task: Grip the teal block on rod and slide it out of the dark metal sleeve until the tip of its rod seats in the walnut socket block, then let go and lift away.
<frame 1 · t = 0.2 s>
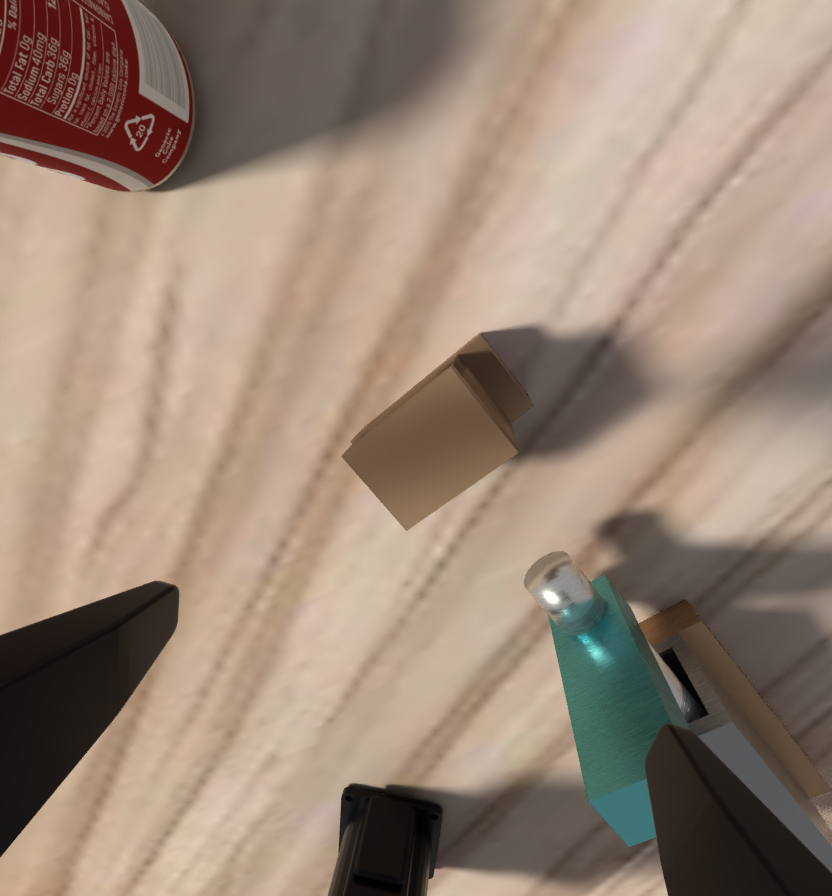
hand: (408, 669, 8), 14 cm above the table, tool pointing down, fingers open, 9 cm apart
sleeve: (715, 768, 21), on the table
soda can: (134, 108, 19), on the table
teal block on rod: (700, 784, 17), point 7 cm above the table, slide at 0.0 cm
socket: (436, 429, 18), on the table
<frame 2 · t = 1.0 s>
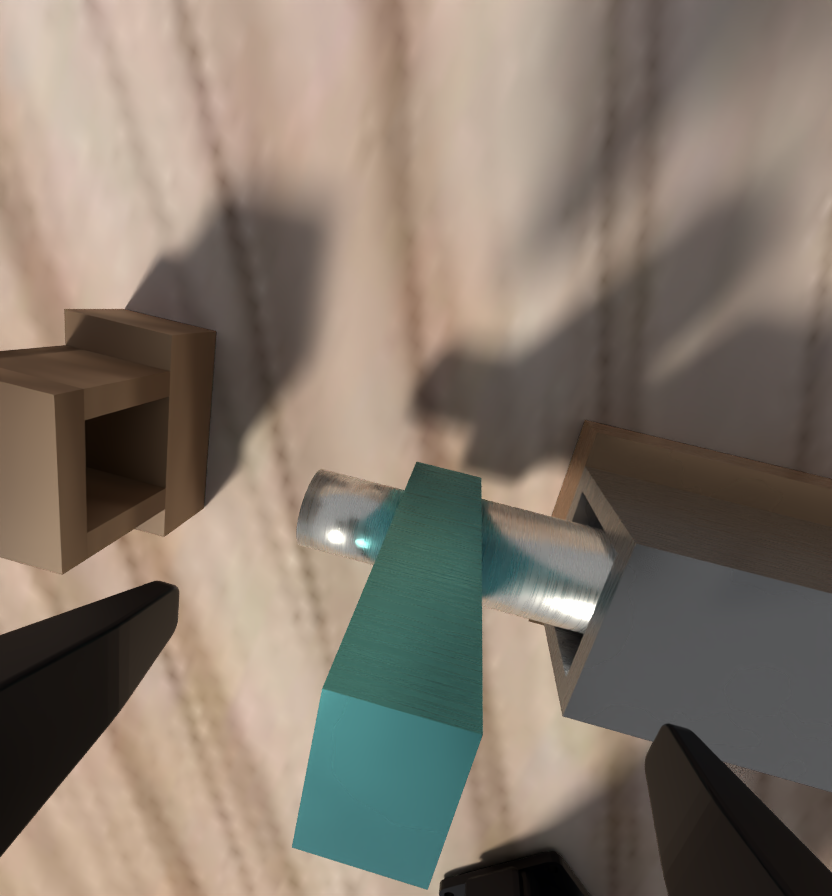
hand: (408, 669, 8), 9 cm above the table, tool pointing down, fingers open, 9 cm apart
sleeve: (781, 615, 13), on the table
teal block on rod: (681, 668, 10), point 7 cm above the table, slide at 0.0 cm
socket: (97, 437, 14), on the table
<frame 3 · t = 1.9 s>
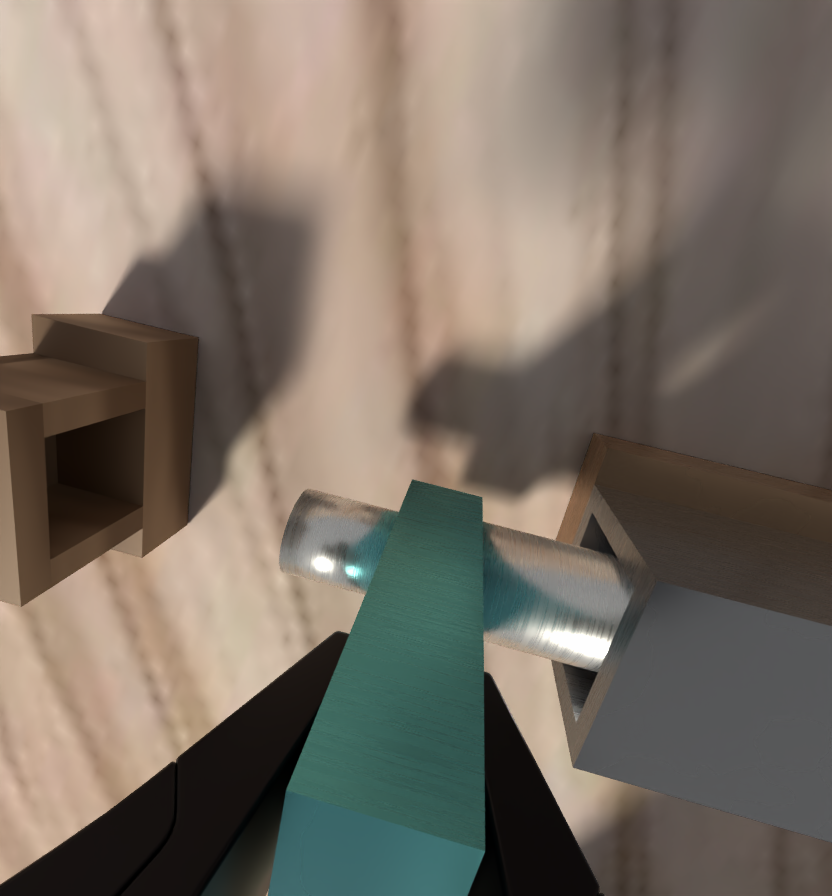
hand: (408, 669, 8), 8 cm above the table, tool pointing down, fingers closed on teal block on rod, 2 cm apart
sleeve: (810, 649, 12), on the table
teal block on rod: (708, 719, 9), point 7 cm above the table, slide at 0.0 cm, touching gripper
socket: (67, 452, 13), on the table
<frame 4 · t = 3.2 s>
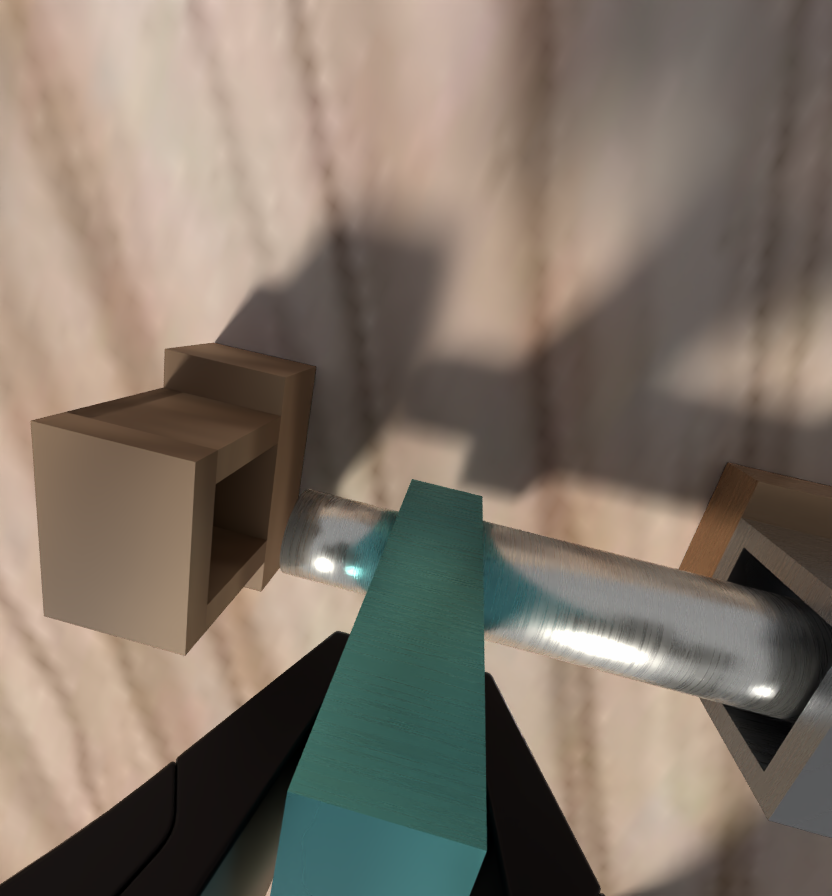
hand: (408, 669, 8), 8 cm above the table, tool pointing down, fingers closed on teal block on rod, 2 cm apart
teal block on rod: (709, 717, 9), point 7 cm above the table, slide at 4.1 cm, touching gripper
socket: (200, 489, 13), on the table
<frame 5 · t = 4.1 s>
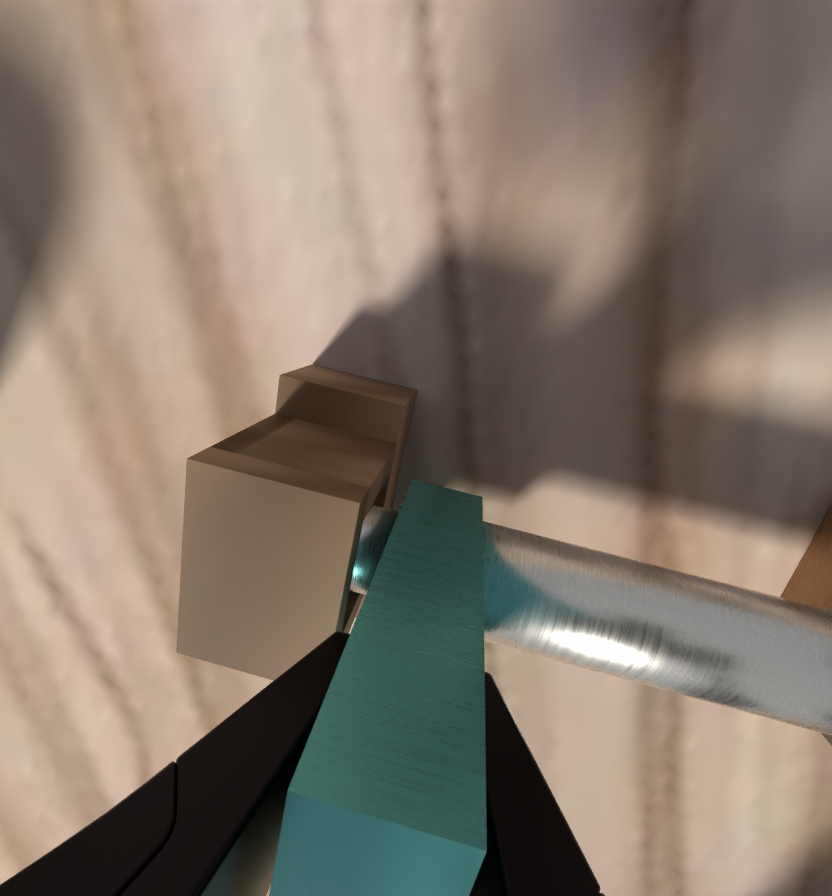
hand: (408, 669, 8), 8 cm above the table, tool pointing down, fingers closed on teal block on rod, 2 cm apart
teal block on rod: (708, 718, 9), point 7 cm above the table, slide at 7.4 cm, touching gripper
socket: (313, 517, 12), on the table
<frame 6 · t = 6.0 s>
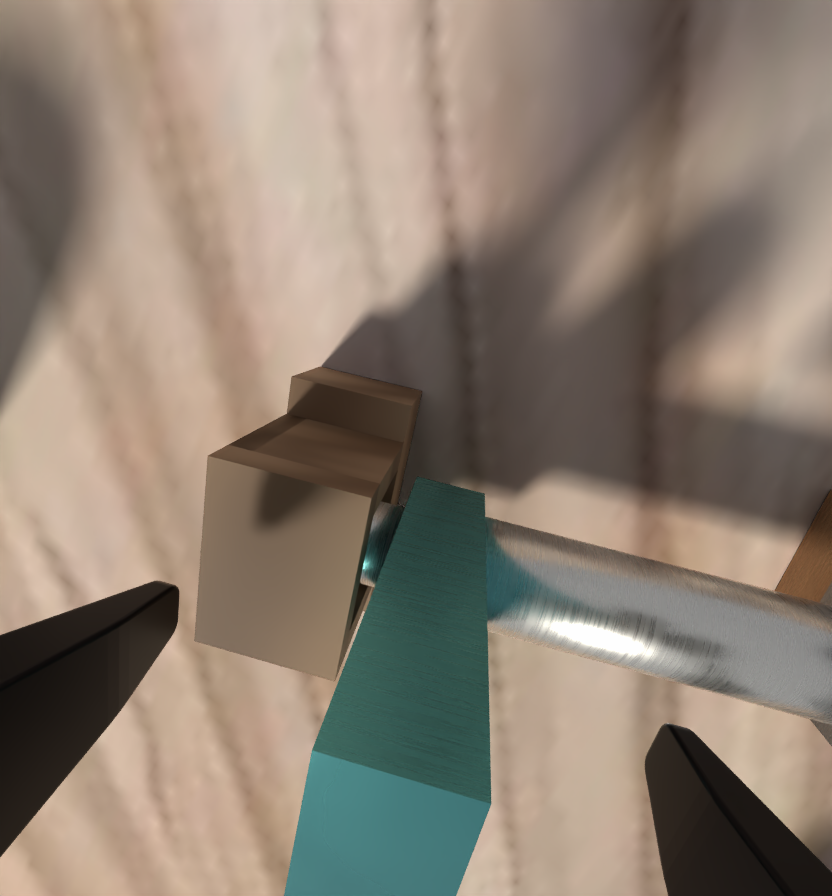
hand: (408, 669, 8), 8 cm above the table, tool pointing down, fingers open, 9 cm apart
teal block on rod: (699, 702, 9), point 7 cm above the table, slide at 7.4 cm
socket: (323, 513, 13), on the table
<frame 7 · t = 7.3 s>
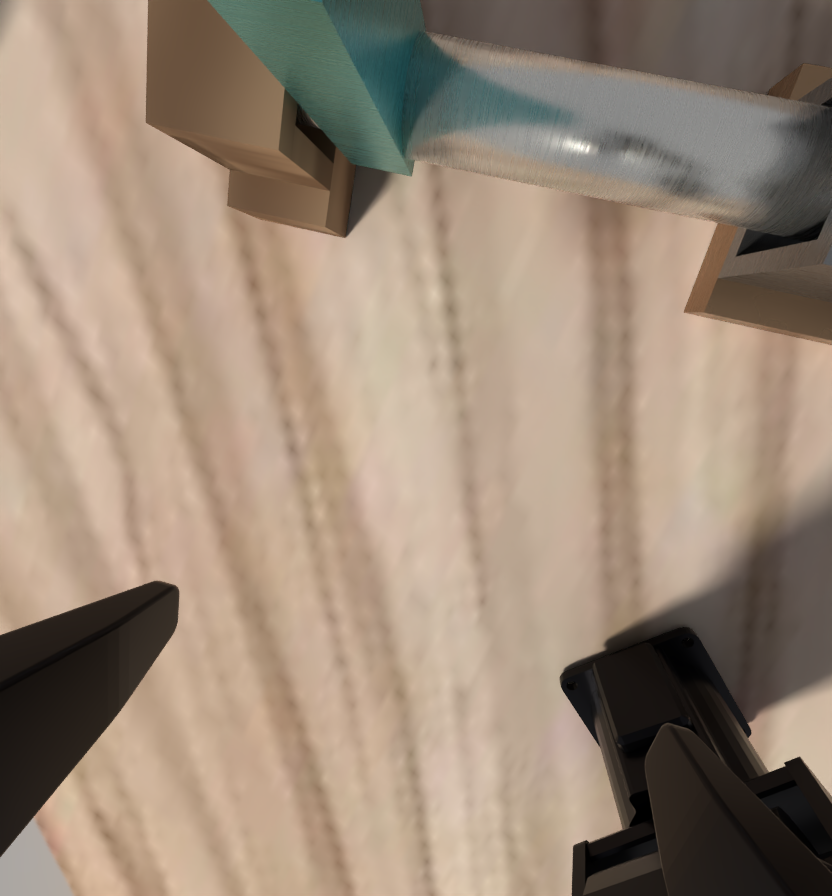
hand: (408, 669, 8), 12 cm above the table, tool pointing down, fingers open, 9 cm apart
teal block on rod: (614, 85, 10), point 7 cm above the table, slide at 7.4 cm
socket: (277, 83, 13), on the table
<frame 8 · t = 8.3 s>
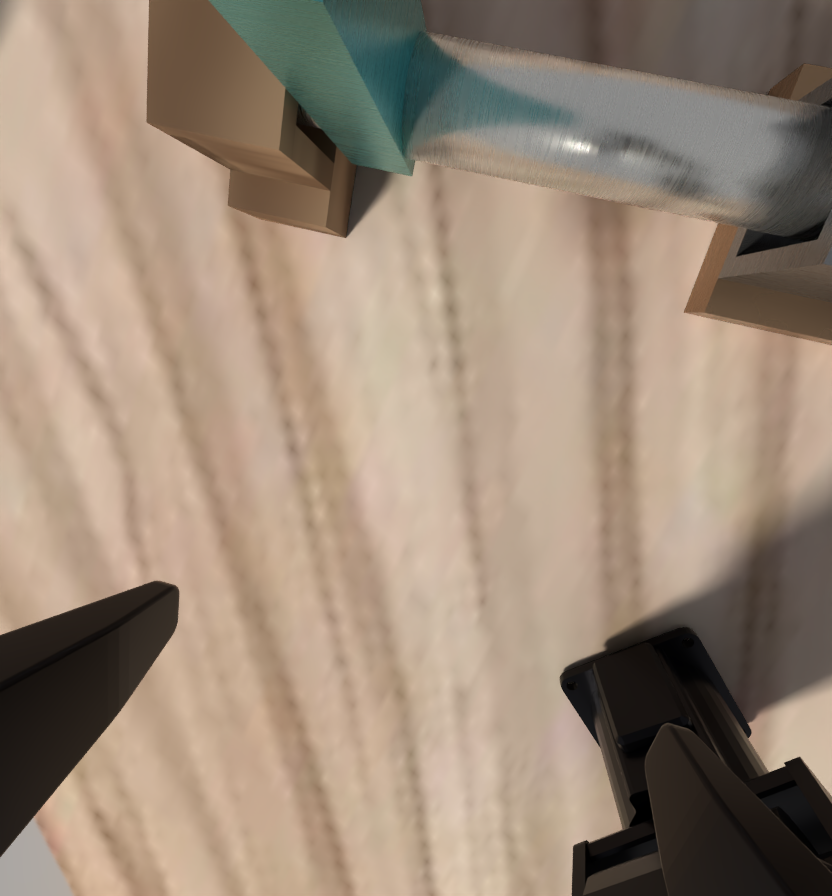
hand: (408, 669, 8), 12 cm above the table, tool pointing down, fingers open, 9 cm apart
teal block on rod: (614, 85, 10), point 7 cm above the table, slide at 7.4 cm
socket: (278, 83, 13), on the table
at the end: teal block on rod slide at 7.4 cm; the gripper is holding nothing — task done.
